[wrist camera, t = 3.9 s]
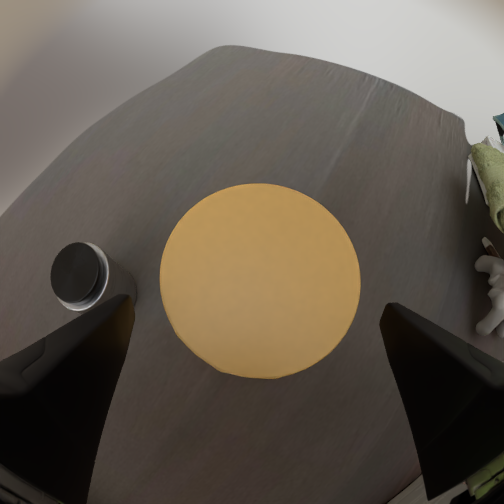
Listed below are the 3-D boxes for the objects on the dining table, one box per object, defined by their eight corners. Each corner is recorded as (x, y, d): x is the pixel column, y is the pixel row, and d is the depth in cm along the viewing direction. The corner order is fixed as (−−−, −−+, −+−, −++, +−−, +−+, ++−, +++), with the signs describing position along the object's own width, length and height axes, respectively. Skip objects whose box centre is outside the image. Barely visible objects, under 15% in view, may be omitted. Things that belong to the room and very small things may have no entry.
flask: (112, 333, 16) (70, 324, 11) (79, 295, 17) (36, 274, 12) (147, 291, 18) (117, 267, 12) (112, 256, 18) (78, 223, 13)
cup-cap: (257, 386, 16) (283, 419, 8) (171, 316, 17) (119, 282, 9) (322, 301, 18) (390, 257, 10) (240, 238, 19) (247, 154, 11)
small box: (466, 155, 26) (486, 133, 21) (495, 169, 26) (514, 151, 21) (485, 206, 23) (511, 185, 18) (513, 215, 23) (535, 199, 19)
